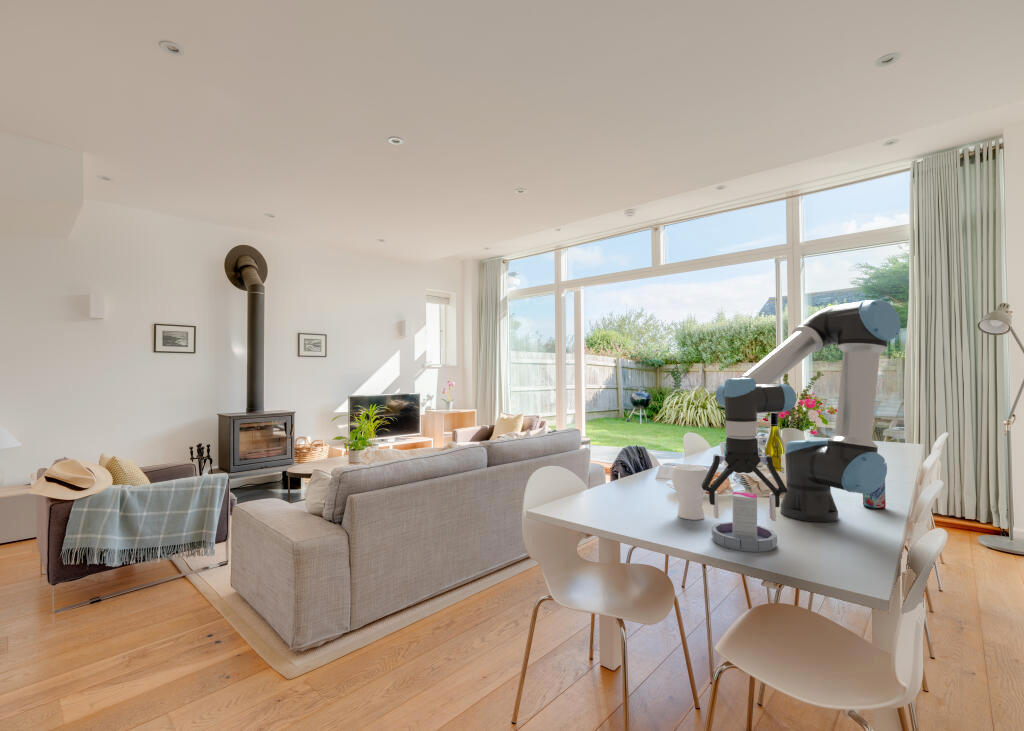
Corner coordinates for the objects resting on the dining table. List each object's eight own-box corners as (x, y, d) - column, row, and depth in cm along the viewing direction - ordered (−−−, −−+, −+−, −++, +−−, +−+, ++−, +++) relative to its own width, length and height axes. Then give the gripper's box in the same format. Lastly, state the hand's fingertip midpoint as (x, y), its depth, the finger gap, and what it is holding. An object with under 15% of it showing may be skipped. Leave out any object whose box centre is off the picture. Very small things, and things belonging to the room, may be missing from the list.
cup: (712, 522, 144) (711, 471, 144) (675, 520, 146) (674, 470, 146) (705, 512, 154) (705, 464, 155) (670, 510, 156) (670, 463, 157)
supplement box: (758, 543, 123) (757, 498, 123) (732, 540, 126) (731, 496, 126) (757, 536, 128) (756, 493, 129) (732, 534, 131) (731, 491, 131)
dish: (767, 534, 132) (767, 524, 132) (783, 554, 118) (783, 542, 118) (708, 530, 136) (708, 520, 136) (716, 549, 122) (716, 538, 122)
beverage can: (863, 508, 157) (862, 461, 157) (862, 504, 162) (861, 458, 162) (886, 511, 153) (885, 463, 154) (885, 506, 158) (883, 460, 159)
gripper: (790, 435, 128) (793, 516, 128) (689, 434, 134) (692, 511, 134) (799, 439, 121) (802, 525, 121) (692, 438, 127) (695, 520, 127)
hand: (744, 518), depth 127 cm, fingers open, 13 cm apart
